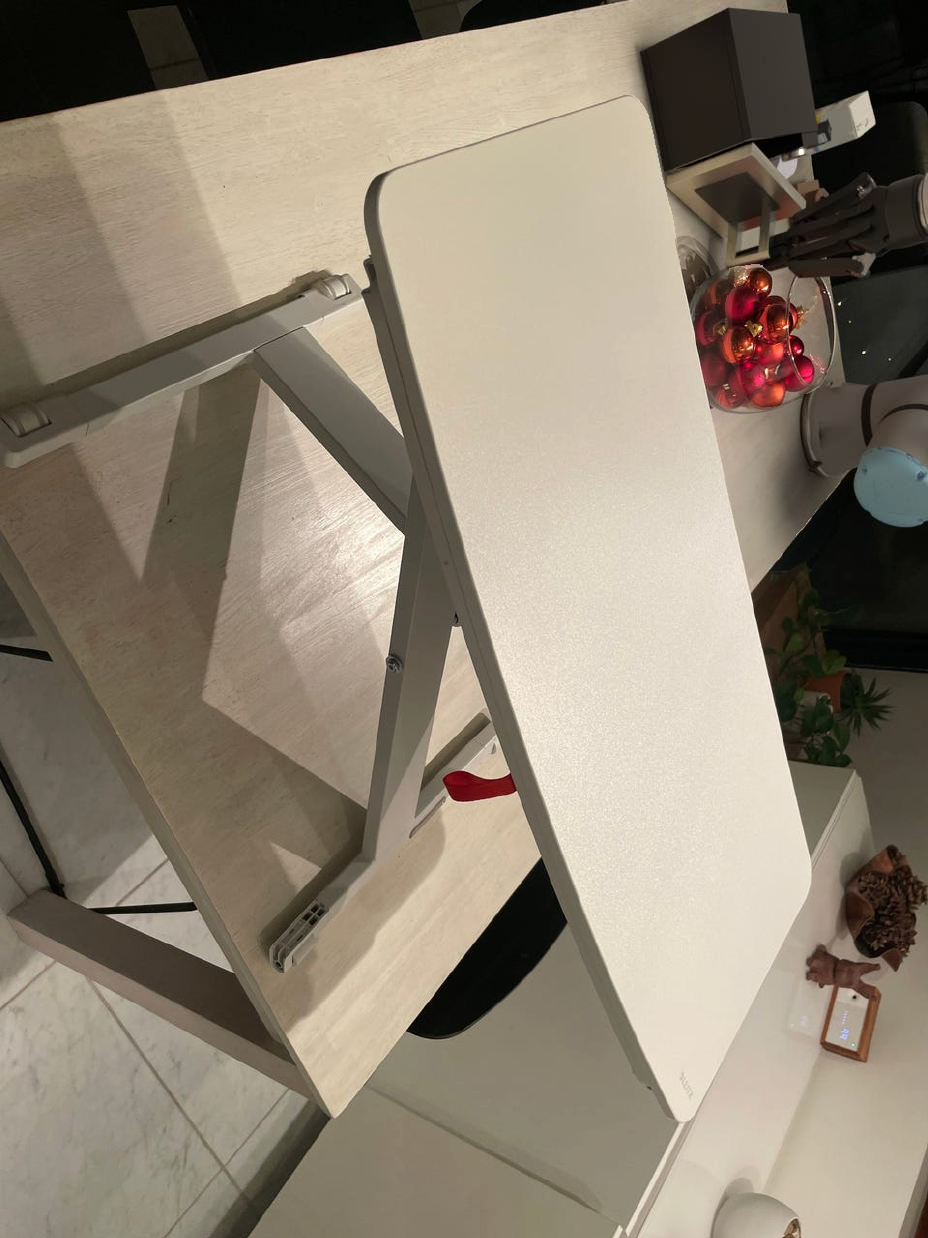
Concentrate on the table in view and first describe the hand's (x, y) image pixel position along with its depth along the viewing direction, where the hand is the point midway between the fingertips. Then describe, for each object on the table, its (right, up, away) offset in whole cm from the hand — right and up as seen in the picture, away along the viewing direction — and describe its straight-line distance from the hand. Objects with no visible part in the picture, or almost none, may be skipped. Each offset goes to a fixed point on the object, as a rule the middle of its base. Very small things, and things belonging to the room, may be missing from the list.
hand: (743, 262), depth 126 cm
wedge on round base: (+5, +20, +11) cm, 23 cm away
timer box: (+15, +15, +21) cm, 30 cm away
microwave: (-7, +18, -2) cm, 20 cm away
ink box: (+12, +25, +18) cm, 33 cm away
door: (-7, +3, -2) cm, 8 cm away
